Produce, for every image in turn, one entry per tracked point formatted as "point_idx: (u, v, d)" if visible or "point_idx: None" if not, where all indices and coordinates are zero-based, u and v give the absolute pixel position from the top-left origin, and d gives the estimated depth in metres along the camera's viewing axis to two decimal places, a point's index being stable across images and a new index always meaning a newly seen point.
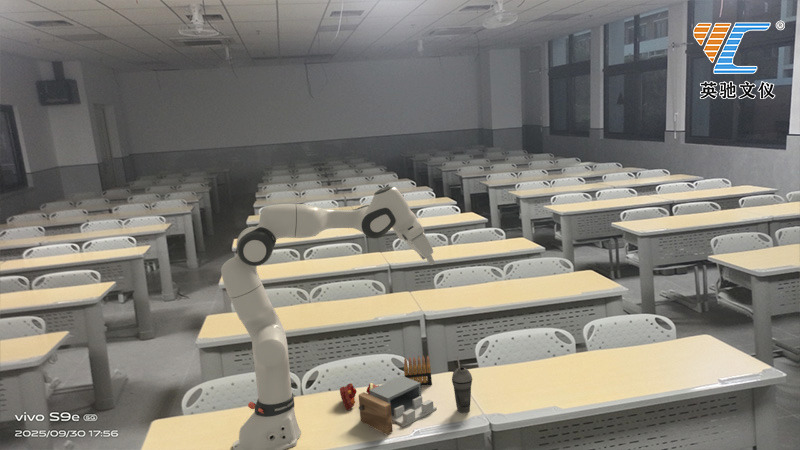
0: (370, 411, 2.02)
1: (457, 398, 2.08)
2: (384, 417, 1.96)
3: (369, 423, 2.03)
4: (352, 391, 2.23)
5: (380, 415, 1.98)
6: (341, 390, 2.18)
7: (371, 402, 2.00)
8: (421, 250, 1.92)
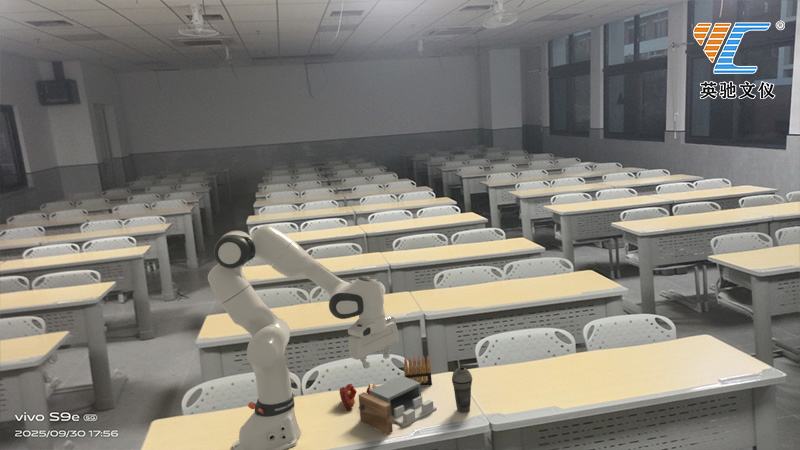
0: (370, 411, 2.02)
1: (457, 398, 2.08)
2: (384, 417, 1.96)
3: (369, 423, 2.03)
4: (352, 391, 2.23)
5: (380, 415, 1.98)
6: (341, 390, 2.18)
7: (371, 402, 2.00)
8: (349, 349, 1.92)
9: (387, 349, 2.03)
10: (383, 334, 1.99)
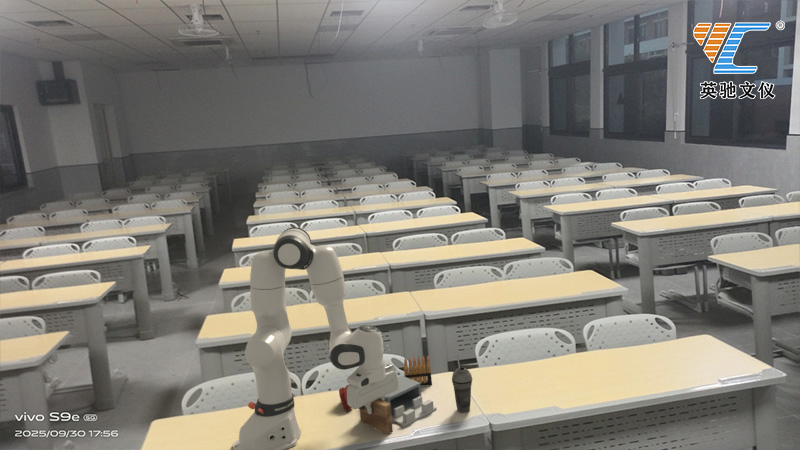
0: None
1: (457, 398, 2.08)
2: (384, 417, 1.96)
3: (369, 423, 2.03)
4: None
5: (380, 415, 1.98)
6: (340, 391, 2.18)
7: None
8: (347, 398, 1.95)
9: None
10: (382, 383, 2.01)
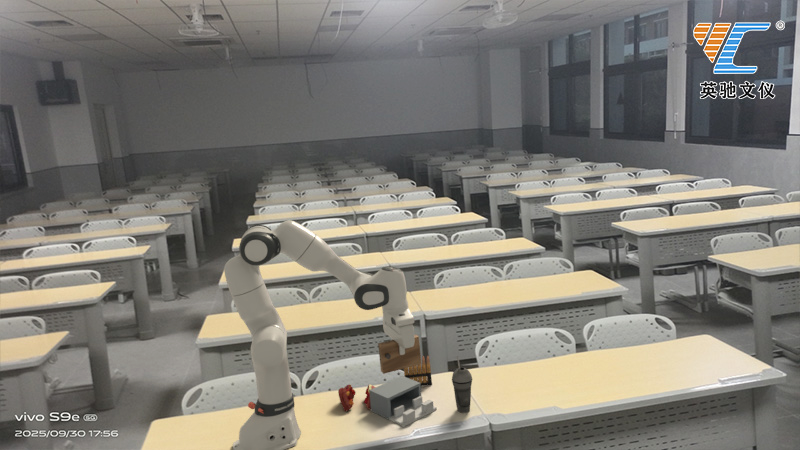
0: (398, 354, 2.01)
1: (457, 398, 2.08)
2: (418, 348, 2.04)
3: (396, 367, 2.01)
4: (351, 392, 2.22)
5: (412, 349, 2.03)
6: (340, 391, 2.17)
7: None
8: (404, 340, 1.92)
9: None
10: None
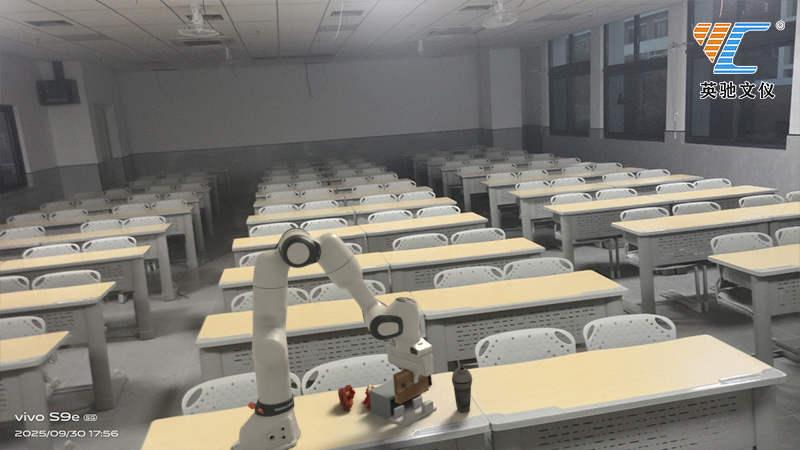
0: (411, 383, 2.05)
1: (457, 398, 2.08)
2: None
3: (410, 396, 2.06)
4: (351, 392, 2.22)
5: (422, 376, 2.09)
6: (339, 391, 2.17)
7: (412, 372, 2.05)
8: (426, 368, 1.98)
9: None
10: None
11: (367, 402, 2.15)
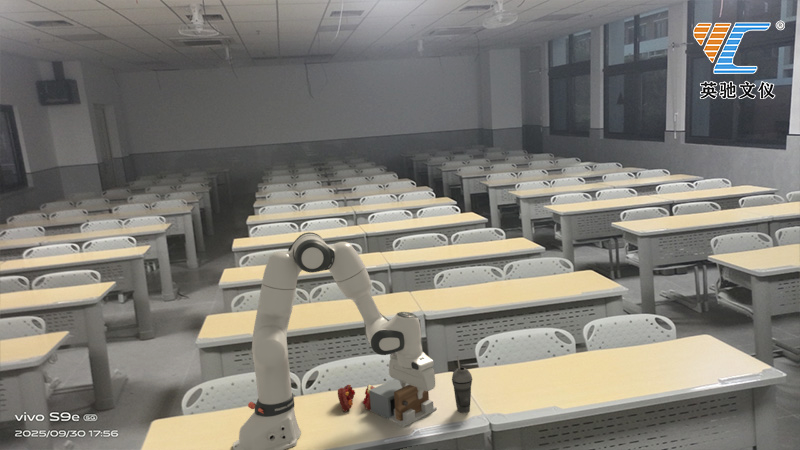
0: (412, 400, 2.06)
1: (457, 398, 2.08)
2: (427, 391, 2.11)
3: None
4: (350, 392, 2.22)
5: (422, 393, 2.10)
6: (339, 391, 2.17)
7: (413, 388, 2.06)
8: (428, 383, 1.98)
9: (404, 384, 2.10)
10: None
11: (366, 402, 2.14)
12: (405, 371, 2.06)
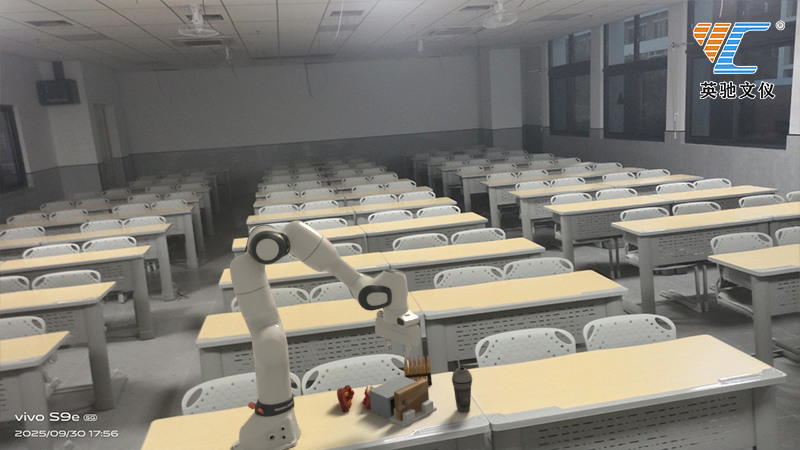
0: (412, 400, 2.06)
1: (457, 398, 2.08)
2: (427, 391, 2.11)
3: None
4: (350, 393, 2.22)
5: (422, 393, 2.10)
6: (338, 392, 2.17)
7: (413, 388, 2.06)
8: (413, 339, 1.98)
9: (387, 341, 2.11)
10: None
11: (366, 403, 2.14)
12: (391, 328, 2.06)
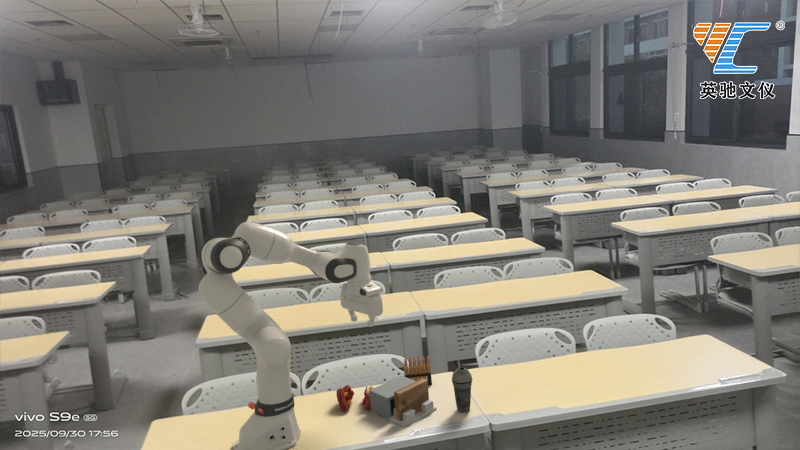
0: (412, 400, 2.06)
1: (457, 398, 2.08)
2: (427, 391, 2.11)
3: None
4: (349, 393, 2.22)
5: (422, 393, 2.10)
6: (338, 392, 2.17)
7: (413, 388, 2.06)
8: (375, 308, 2.05)
9: (352, 313, 2.18)
10: None
11: (365, 403, 2.14)
12: (355, 299, 2.13)
